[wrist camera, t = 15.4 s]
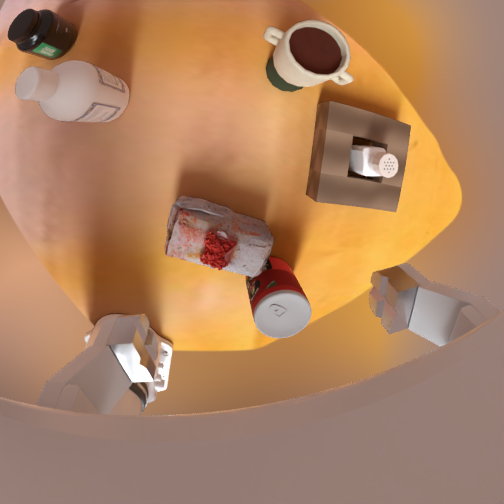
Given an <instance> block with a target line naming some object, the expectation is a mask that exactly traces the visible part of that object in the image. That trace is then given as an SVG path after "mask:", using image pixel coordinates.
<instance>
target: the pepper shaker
mask: <svg viewBox="0 0 504 504" xmlns="http://www.w3.org/2000/svg"><path fill="white" fill-rule="evenodd" d="M348 170H350V171H353V172H356V173H359V174H361V175H364V176H384V177H387V178H390V177H393V176H394V175H395V174H396V173H397V170H398V161H397V159H396V157H395V156H394V155H392V154H390V153H386V151H385V149H383V148H380V147H374V146H368V145H352V148H351V155H350V162H349V168H348Z"/></svg>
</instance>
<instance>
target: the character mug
mask: <svg viewBox="0 0 504 504" xmlns="http://www.w3.org/2000/svg"><path fill="white" fill-rule="evenodd" d="M263 39H265V40H266V41H268V42H270V43H272V44H274V45H276V47H275V50H274V52H273V57H272V58H270V59H269V61H268V64H267V67H266V72H267V78H268V79H269V80H270V82H271V83H272V85H273V86H275V87H277V88H278V89H280V90H282V91H291V92H293V91H296V90H299V89H302V88H303V87H312V86H314V85H317V84H320V83H322V82H325V81H327V80H330V79H331V80H333V81H334V82H336V83H337V84H339V85H345V84H348V83H351V82H352V81H353V77H352V76H351V75H350V74H349V73H348V72H346V71H345V70H346V69H347V68H348V65H349V61H350V58H351V56H350V48H349V45H348V43H347V41H346V39H345V37H344V36H343V34H342V33H341V32H340V31H339V30H338V29H337V28H335V27H334V26H332V25H331V24H329V23H326V22H323V21H320V20H305V21H301V22H298V23H296V24H295V25H293V26H292V27H291V28H290V29H289V30H287V31H286V33H285V32H283V31H281V30H279V29H277V28H275V27H272V26H270V27H268V28H266V30H265V32H264V34H263Z"/></svg>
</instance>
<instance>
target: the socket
mask: <svg viewBox="0 0 504 504" xmlns="http://www.w3.org/2000/svg"><path fill="white" fill-rule="evenodd" d="M410 129H411V126H410V125H408V124H405V123H402V122H400V121H397V120H394V119H391V118H388V117H385V116H382V115H379V114H376V113H373V112H370V111H366V110H363V109H360V108H356V107H352V106H349V105H345V104H341V103H337V102H333V101H327V102H322V103H318V105H317V115H316V123H315V132H314V140H313V148H312V156H311V163H310V170H309V178H308V185H307V191H306V195H307V196H309V197H310V198H312V199H313V200H314V201H316V202H322V203H331V204H340V205H348V206H356V207H364V208H371V209H378V210H385V211H392V212H396V210H397V206H398V202H399V197H400V192H401V187H402V182H403V176H404V171H405V165H406V159H407V152H408V145H409V137H410ZM353 137H355V138H359V139H363V140H367V141H371V142H372V146H374V147H380V148H383V149H385V151H386V153H390V154H392V155H394V156H395V157H396V159H397V161H398V170H397V173H396V174H395V175H394V176H393V177H390V178H387V177H384V176H367V178H365V177H360V176H355V175H349V174H348V168H349V162H350V155H351V148H352V140H353Z"/></svg>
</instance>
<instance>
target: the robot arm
mask: <svg viewBox="0 0 504 504" xmlns="http://www.w3.org/2000/svg"><path fill="white" fill-rule="evenodd" d="M371 283H372V285H373V288H372V290H371V291H370V293H369V304H370V308H371V310H372V312H373V313H374V315H375V316H377V317H380V318H382V319H381V324H382V325H383V326H384V328H385V329H386V330H387V332H388V333H389V334H391V333H394V332H397V331H401V330H404V329H406V328H408V329H409V330H411V331H413V332H414V333H416V334H418V335H420V336H422V337H424V338H426V339H427V340H429V341H431V342H433V343H435V344H437V345H439V346H440V347H439V348H437V349H435V350H433V351H431V352H429V353H426V354H424V355H422V356H420V357H418V358H415V359H413V360H411V361H409V362H406V363H404V364H401V365H399V366H397V367H394V368H391V369H389V370H386V371H384V372H381V373H378V374H376V375H373V376H370V377H367V378H364V379H361V380H358V381H355V382H352V383H349V384H346V385H343V386H339V387H336V388H333V389H329V390H325V391H322V392H318V393H314V394H311V395H307V396H302V397H298V398H294V399H290V400H285V401H280V402H275V403H271V404H265V405H259V406H253V407H247V408H241V409H234V410H226V411H218V412H209V413H198V414H183V415H160V416H141V415H142V412H143V410H144V408H145V407H146V405H147V403H149V402H152V401H154V400H155V398H156V392H157V391H162V390H165V389H166V388H167V384H168V378H169V370H170V363H171V357H172V351H173V345H172V343H171V342H169V341H167V340H166V339H164V338H162V337H160V336H159V335H157V334H156V332H155V331H154V330H153V329H152V328H150V327H149V324H150V322H149V320H148V318H147V316H146V315H145V314H144V313H143V314H134V315H122V314H111V315H107V316H104V317H102V318H101V319H99V320H98V321H97V323H96V324H95V326H94V328H93V330H91V331H90V332H88V333H87V334H86V335H85V342H86V343H87V345H86V348H85V350H84V351H83V352H82V353H80V354H79V355H78V356H77V357H75V358H74V359H73V360H72V361H71V362H69V363H68V364H67V365H66V366H64V367H63V368H62V369H61V370H60V371H58V372H57V373H56V374H55V375H54V376H52V377H51V378H50V379H49V380H47V381H46V383H45V385H44V388H43V390H42V392H41V394H40V397H39V399H38V402H37V404H36V405H31V404H26V403H22V402H18V401H13V400H10V399H6V398H2V397H0V504H504V310H503V311H500V310H499V309H497V308H496V307H495V306H494V305H493V304H492V303H491V302H489V301H488V300H487V299H486V298H485V297H484V296H480V295H477V294H474V293H471V292H467V291H464V290H460V289H458V288H454V287H451V286H447V285H444V284H440V283H437V282H430V281H429V280H428V279H427V278H425V277H424V276H423V275H422V274H421V273H420V272H418V271H417V270H416V269H415V268H413V267H412V266H411V265H410V264H408V263H404V264H400V265H397V266H394V267H391V268H387V269H383V270H379V271H375V272H373V274H372V276H371Z"/></svg>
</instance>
